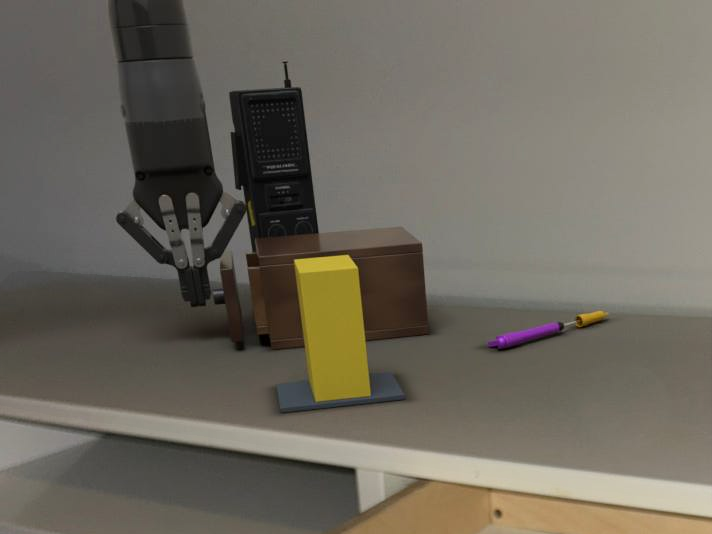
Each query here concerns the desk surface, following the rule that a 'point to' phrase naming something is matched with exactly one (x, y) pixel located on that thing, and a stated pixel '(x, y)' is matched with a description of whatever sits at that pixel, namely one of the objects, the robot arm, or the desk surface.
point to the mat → (302, 398)
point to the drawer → (231, 296)
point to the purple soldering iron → (544, 330)
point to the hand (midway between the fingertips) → (198, 305)
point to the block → (333, 327)
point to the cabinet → (376, 277)
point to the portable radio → (273, 161)
